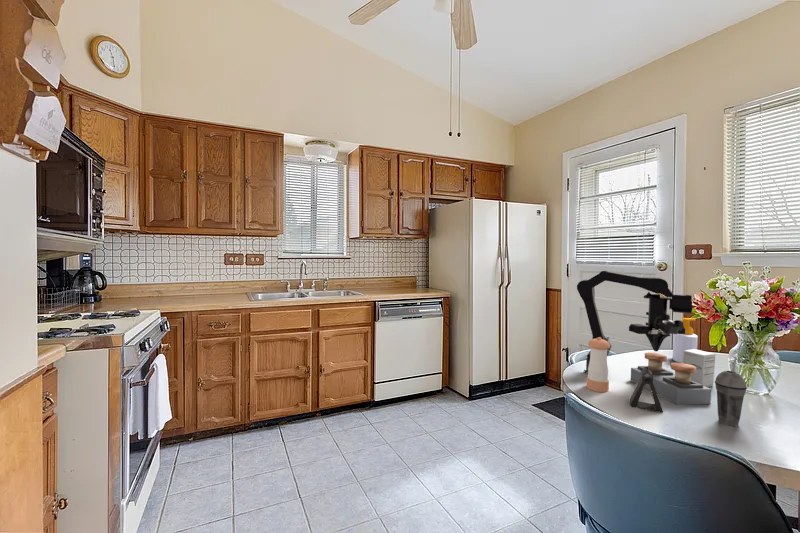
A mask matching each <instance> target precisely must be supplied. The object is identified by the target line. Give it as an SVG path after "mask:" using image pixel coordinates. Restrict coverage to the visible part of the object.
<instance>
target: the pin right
mask: <svg viewBox="0 0 800 533" xmlns="http://www.w3.org/2000/svg"><path fill="white" fill-rule="evenodd" d="M670 370H673V371H674V374H675V382H678V383H680V384H690V381H691V373H696V367H695V366H693V365H689V364H685V363H678V362H671V363H670Z"/></svg>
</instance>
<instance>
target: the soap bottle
mask: <svg viewBox="0 0 800 533" xmlns="http://www.w3.org/2000/svg"><path fill="white" fill-rule="evenodd" d="M682 322H683V326H684V328H685V334H673V340H672V342H673V343H672V360H673V361H675V363H683V358H684V351H685V350H691V349H697V350H698V342H699V341H698V337H699V336H698V335H697V334H695V333H694V329H693V327H691V326H690V325H691V324H690V323H691V322H696V318H690V317H687V318H686V317H683V318H682Z"/></svg>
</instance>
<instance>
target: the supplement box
mask: <svg viewBox="0 0 800 533" xmlns="http://www.w3.org/2000/svg"><path fill="white" fill-rule="evenodd" d="M683 363H685V364H689V365H693V366H695V367H696V373H691V380H692V381H694V382H697V383H699V384H702V385H703V386H705V387H707V388H709V387H713V386H714V382H715V381H714V379H715V364H716V353H714V352H708V351H704V350H701V349H698V348H697V349H691V350H685V351H684V358H683Z"/></svg>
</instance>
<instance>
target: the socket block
mask: <svg viewBox="0 0 800 533" xmlns="http://www.w3.org/2000/svg"><path fill="white" fill-rule="evenodd" d="M644 368H645V370H646V374H645V375H644V376H646V377H647V376H648V377H649V376H650V374H649V371H648V365H638V366H637V367H631V368H630V381H632V382H633V383H635V384H636V385H637V384H638V382H639V380H640V378H641V370H642V369H644ZM651 372H652V375H653V384H654V387H655V389H656V392H657V395H658V396H660V397H662V398H664V399H666V400H668V401H670V402H672V403H674V404H676V405H703V404H705V405H708V404H709V405H711V402H712V401H711V400H712V389H711V388H709V387H705V386H703V385H702V384H699V383H697V382H694V381H692V380H691V381H690V384H680V383H678V382H675V372H672V371H670V370H668V369H666V368H663V367H662V372H653V371H651ZM644 388H645V389H647V390H649V391H650V392H652V391H651V388H650V385H649V384H645V386H644Z"/></svg>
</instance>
